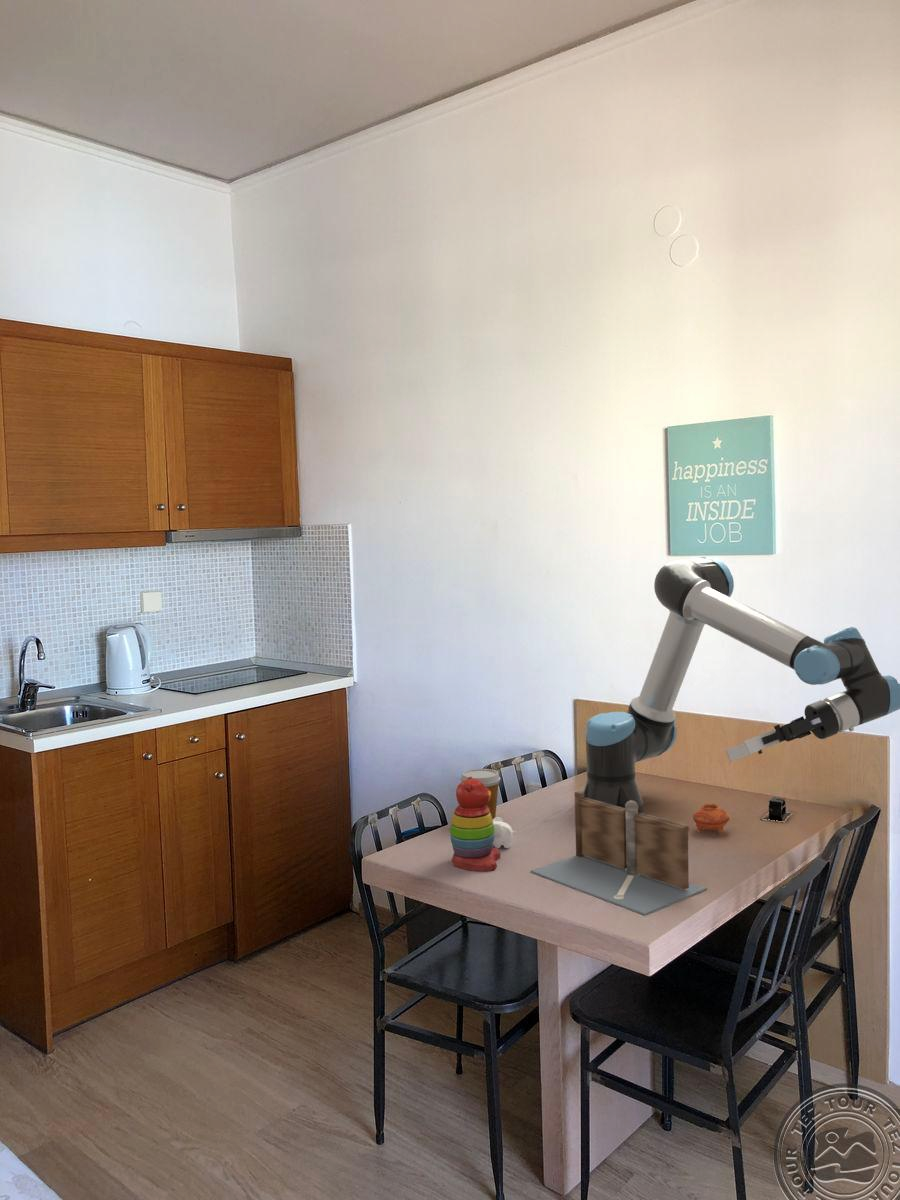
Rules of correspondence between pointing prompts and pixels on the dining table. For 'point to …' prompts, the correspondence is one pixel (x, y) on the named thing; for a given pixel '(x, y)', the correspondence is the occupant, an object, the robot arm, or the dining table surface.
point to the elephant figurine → (502, 833)
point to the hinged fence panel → (662, 850)
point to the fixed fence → (606, 832)
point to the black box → (777, 809)
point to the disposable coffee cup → (486, 784)
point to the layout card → (616, 884)
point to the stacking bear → (473, 828)
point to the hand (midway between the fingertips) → (736, 751)
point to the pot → (710, 818)
